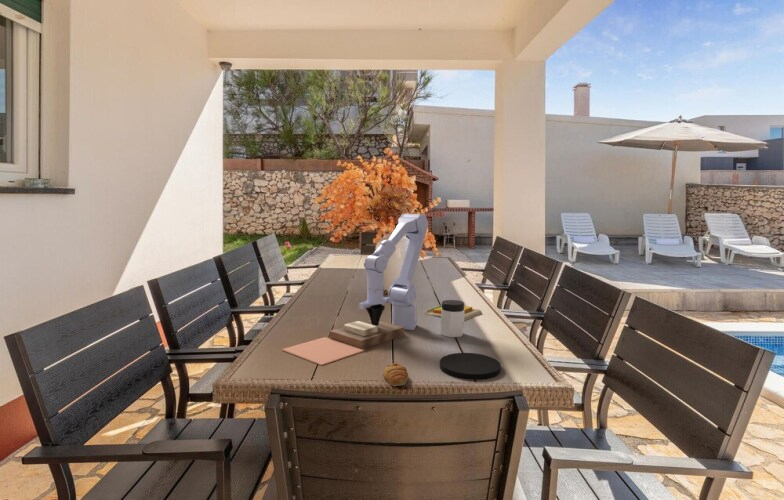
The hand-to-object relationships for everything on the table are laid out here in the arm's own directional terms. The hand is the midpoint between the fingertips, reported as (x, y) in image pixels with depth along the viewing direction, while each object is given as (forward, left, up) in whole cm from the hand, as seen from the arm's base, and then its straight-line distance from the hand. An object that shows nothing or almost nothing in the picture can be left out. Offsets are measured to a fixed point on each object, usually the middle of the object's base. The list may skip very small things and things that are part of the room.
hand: (375, 325), depth 172 cm
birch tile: (+4, +6, -1) cm, 7 cm away
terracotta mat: (+12, +21, -4) cm, 25 cm away
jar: (-27, -8, -4) cm, 29 cm away
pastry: (-16, +39, -4) cm, 42 cm away
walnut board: (+2, +3, -4) cm, 5 cm away
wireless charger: (-35, +25, -4) cm, 44 cm away
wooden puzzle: (-25, -38, -4) cm, 46 cm away
